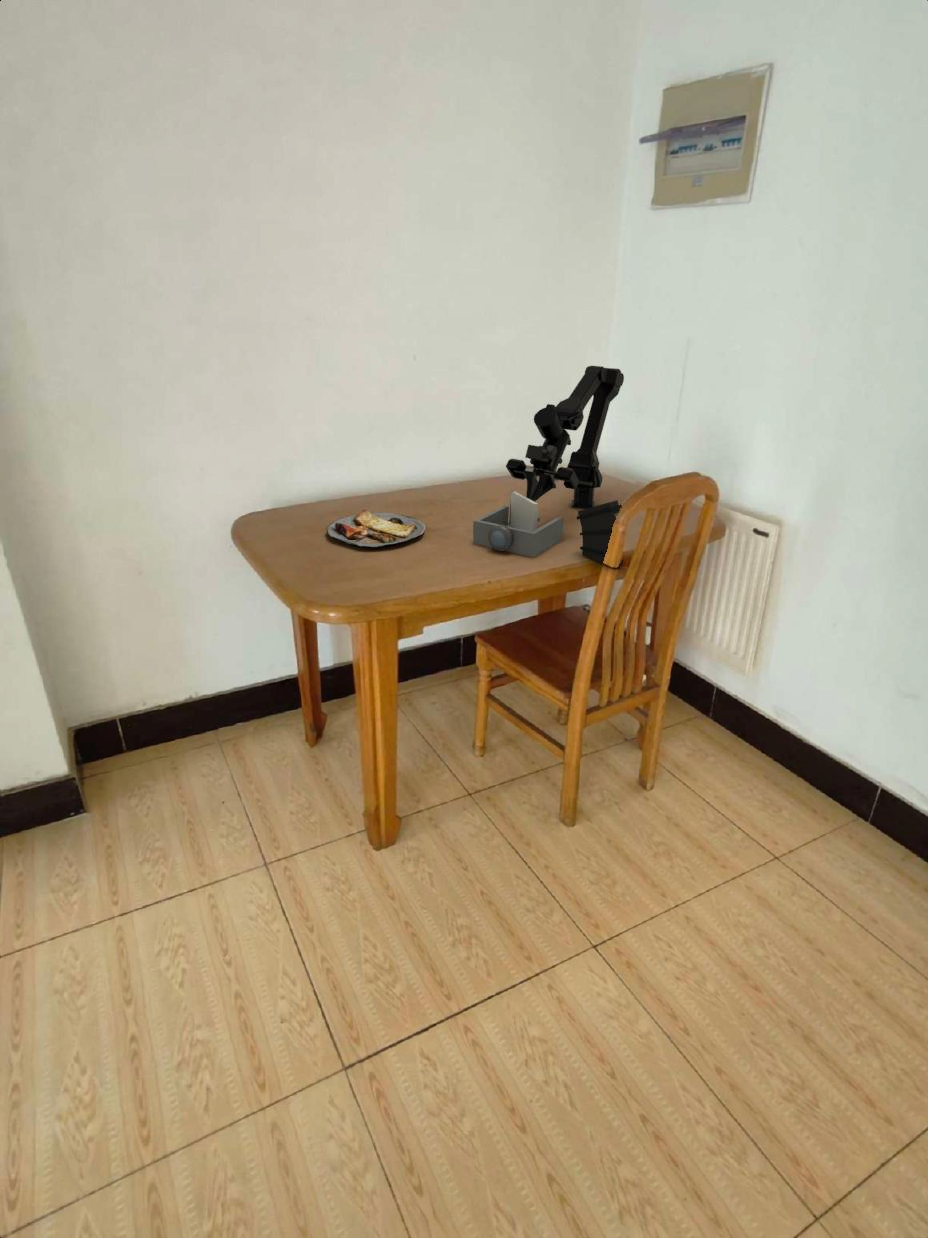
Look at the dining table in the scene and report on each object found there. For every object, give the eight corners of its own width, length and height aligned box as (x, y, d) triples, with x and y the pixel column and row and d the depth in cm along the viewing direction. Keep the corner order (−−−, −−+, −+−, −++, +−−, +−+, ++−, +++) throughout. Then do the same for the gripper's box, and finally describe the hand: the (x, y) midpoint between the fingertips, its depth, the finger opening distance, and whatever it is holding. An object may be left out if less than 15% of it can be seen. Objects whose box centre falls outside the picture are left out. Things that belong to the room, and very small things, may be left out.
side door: (508, 524, 191) (509, 490, 187) (516, 522, 192) (517, 489, 188) (532, 539, 181) (534, 504, 177) (540, 537, 182) (542, 503, 178)
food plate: (309, 535, 186) (308, 522, 185) (372, 514, 203) (371, 502, 201) (380, 560, 173) (380, 546, 171) (441, 534, 190) (441, 522, 188)
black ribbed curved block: (624, 567, 163) (608, 502, 162) (585, 573, 174) (570, 513, 173) (635, 563, 165) (620, 499, 164) (596, 570, 176) (581, 510, 175)
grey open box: (505, 526, 193) (505, 502, 190) (563, 538, 185) (564, 514, 182) (468, 546, 180) (468, 520, 177) (528, 560, 171) (529, 534, 168)
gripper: (510, 426, 183) (486, 479, 180) (576, 436, 174) (552, 492, 171) (525, 451, 192) (502, 501, 189) (588, 461, 183) (565, 515, 180)
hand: (529, 502), depth 182 cm, fingers closed
